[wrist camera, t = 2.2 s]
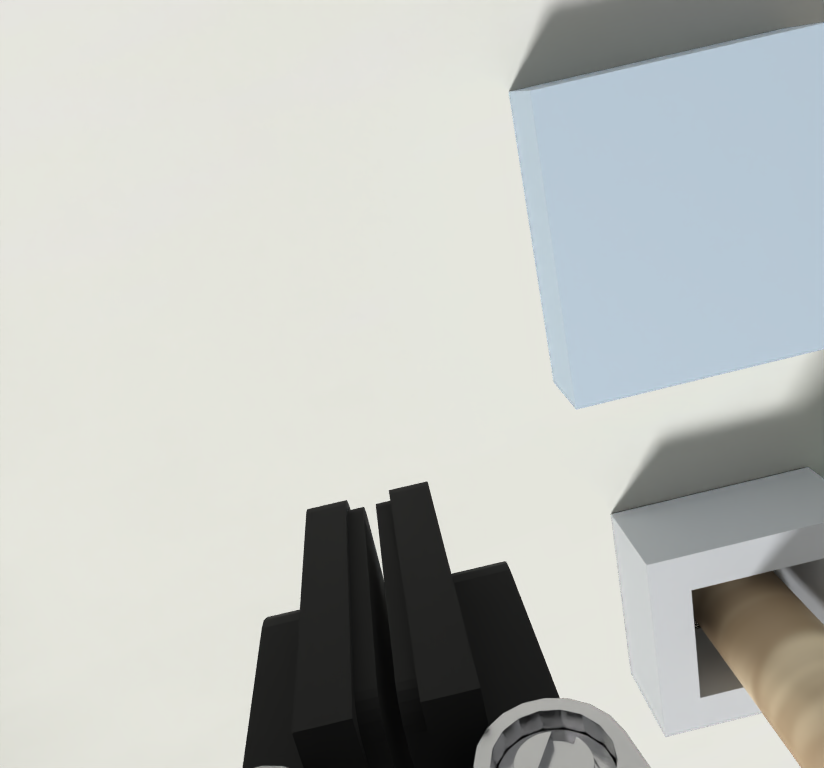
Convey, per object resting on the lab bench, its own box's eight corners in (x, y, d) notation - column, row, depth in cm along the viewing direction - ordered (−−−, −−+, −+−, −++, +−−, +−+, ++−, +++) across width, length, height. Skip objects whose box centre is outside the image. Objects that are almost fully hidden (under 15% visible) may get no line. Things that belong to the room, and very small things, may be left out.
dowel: (671, 548, 30) (872, 807, 19) (755, 528, 31) (1004, 774, 19) (677, 618, 32) (870, 900, 21) (758, 598, 32) (993, 868, 21)
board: (506, 91, 24) (530, 90, 21) (777, 29, 24) (836, 20, 22) (550, 378, 28) (576, 409, 25) (786, 321, 28) (837, 345, 25)
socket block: (611, 514, 30) (646, 565, 26) (808, 466, 30) (867, 511, 27) (631, 673, 32) (665, 737, 29) (810, 629, 33) (865, 687, 29)
